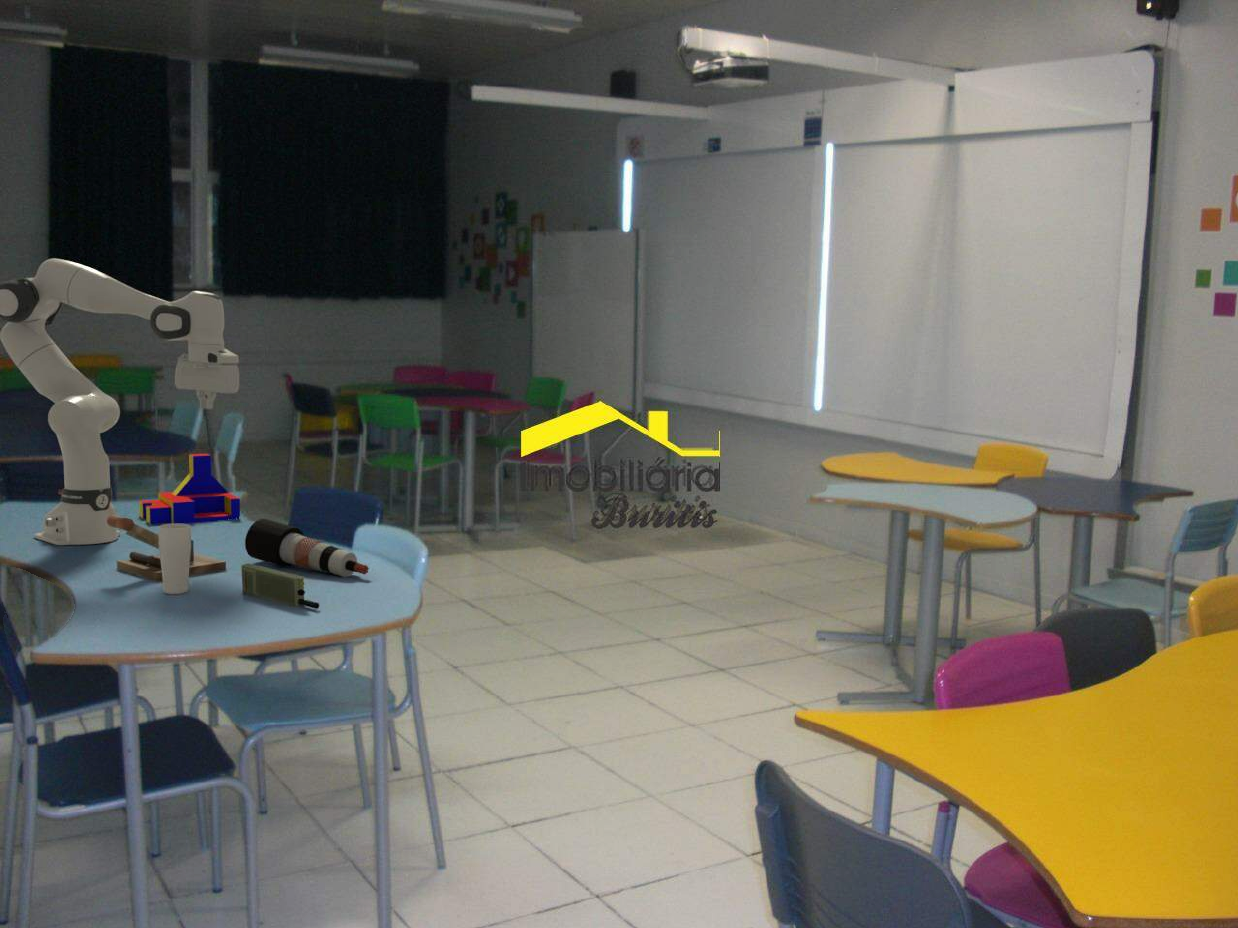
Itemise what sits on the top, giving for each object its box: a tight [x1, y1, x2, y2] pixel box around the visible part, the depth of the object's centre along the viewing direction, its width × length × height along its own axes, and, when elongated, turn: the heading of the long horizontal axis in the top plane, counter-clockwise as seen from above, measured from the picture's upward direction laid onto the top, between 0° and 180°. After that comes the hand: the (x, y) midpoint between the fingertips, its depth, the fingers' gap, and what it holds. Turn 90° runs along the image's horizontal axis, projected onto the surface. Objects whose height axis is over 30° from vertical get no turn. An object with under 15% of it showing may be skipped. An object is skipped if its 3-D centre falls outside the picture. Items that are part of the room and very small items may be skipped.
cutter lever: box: [107, 514, 159, 550], centre depth 285 cm, size 3×7×20 cm
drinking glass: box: [157, 523, 192, 595], centre depth 267 cm, size 7×7×15 cm
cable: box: [244, 518, 370, 578], centre depth 293 cm, size 10×34×10 cm, turn 59°
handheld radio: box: [241, 563, 320, 610], centre depth 263 cm, size 7×3×25 cm
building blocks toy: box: [138, 453, 241, 525], centre depth 358 cm, size 19×25×18 cm
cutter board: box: [116, 539, 227, 582], centre depth 290 cm, size 18×18×7 cm
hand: (206, 408), depth 311 cm, fingers closed
